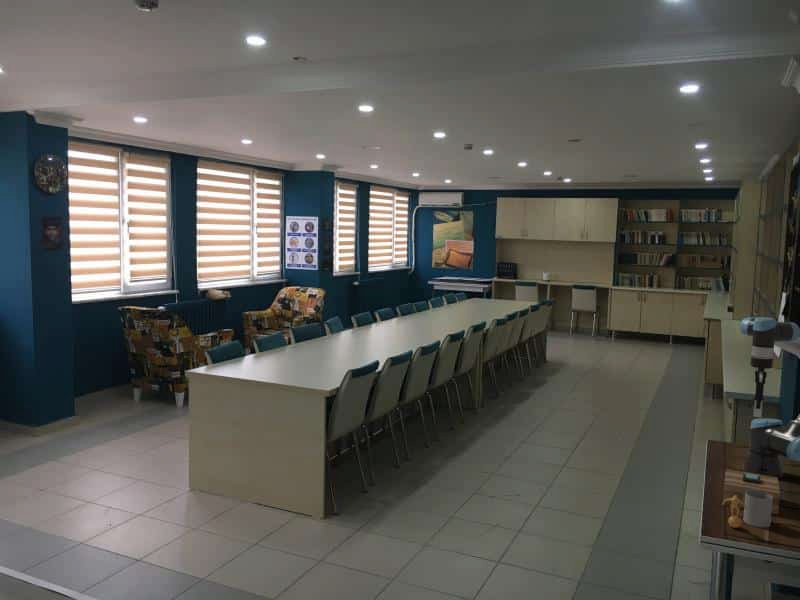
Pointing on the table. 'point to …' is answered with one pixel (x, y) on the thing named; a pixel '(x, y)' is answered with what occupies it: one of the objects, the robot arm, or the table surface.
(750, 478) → the peg
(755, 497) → the cup
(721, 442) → the table surface
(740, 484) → the socket block
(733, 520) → the figurine
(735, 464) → the table surface
